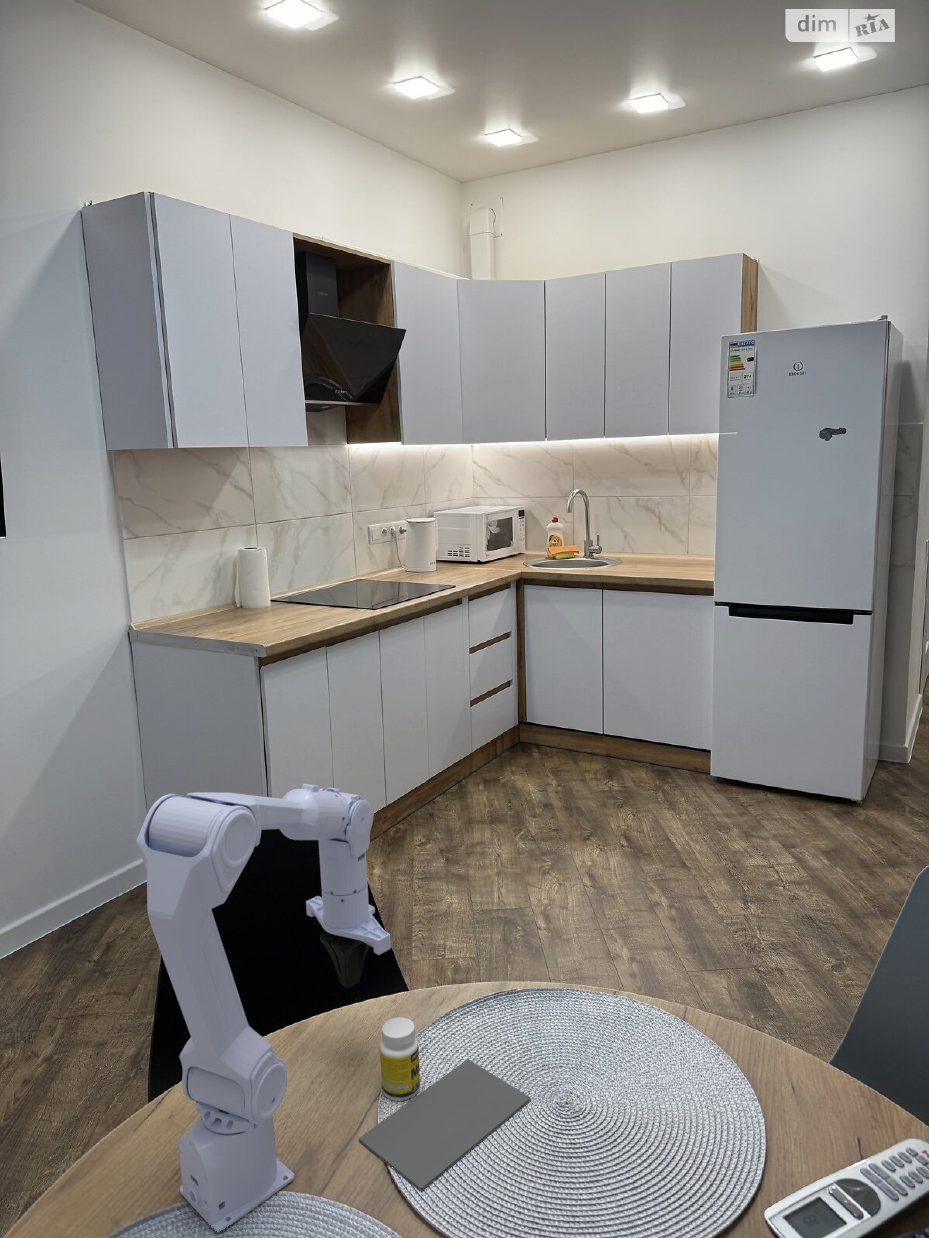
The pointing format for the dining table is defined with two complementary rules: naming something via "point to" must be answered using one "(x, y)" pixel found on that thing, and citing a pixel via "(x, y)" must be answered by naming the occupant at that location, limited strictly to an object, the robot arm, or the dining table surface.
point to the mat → (444, 1123)
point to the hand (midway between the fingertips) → (350, 983)
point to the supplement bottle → (399, 1059)
